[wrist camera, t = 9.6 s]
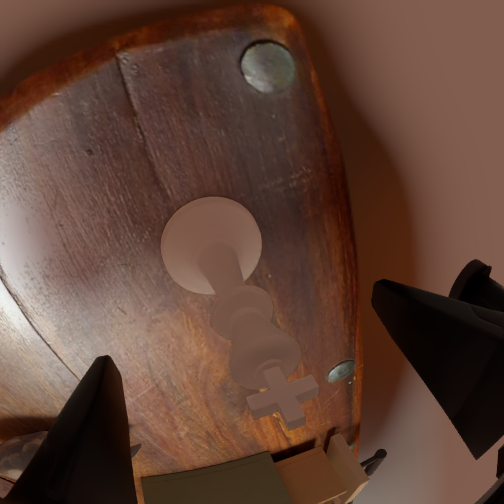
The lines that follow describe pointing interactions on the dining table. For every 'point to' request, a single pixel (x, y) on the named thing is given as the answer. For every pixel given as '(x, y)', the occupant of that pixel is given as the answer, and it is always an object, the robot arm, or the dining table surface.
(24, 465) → the decorative bird
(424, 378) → the robot arm
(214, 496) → the cabinet
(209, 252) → the chess piece
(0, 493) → the tea box
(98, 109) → the dining table surface
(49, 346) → the dining table surface
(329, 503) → the drawer
